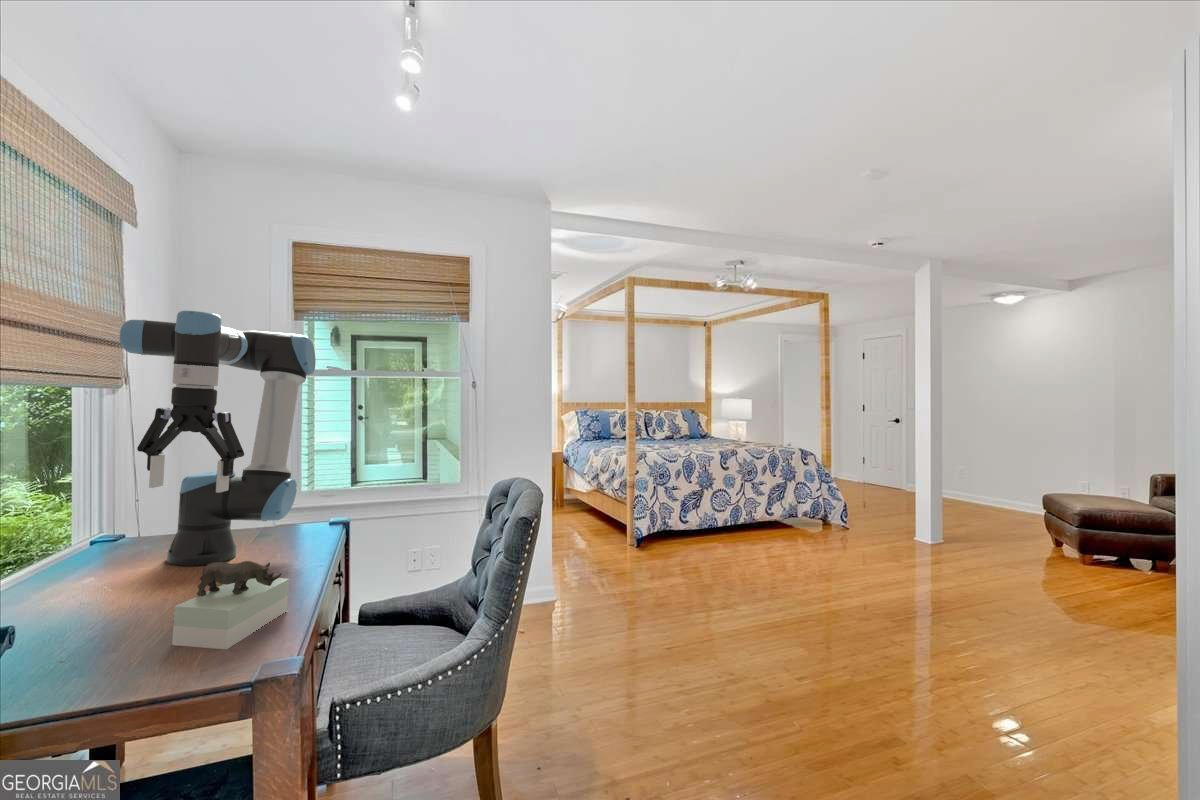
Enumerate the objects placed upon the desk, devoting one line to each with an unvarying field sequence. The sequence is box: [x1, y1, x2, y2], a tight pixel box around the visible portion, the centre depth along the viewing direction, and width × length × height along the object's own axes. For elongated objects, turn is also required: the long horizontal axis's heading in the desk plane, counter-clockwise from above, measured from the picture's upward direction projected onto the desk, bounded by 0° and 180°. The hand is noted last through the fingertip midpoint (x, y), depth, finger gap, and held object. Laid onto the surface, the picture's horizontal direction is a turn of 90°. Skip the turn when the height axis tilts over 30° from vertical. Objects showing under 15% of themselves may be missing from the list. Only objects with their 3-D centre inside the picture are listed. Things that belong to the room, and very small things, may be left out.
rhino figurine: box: [196, 560, 282, 596], centre depth 106 cm, size 4×14×6 cm, turn 111°
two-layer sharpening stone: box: [171, 577, 290, 650], centre depth 106 cm, size 18×10×7 cm, turn 178°
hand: (189, 489), depth 112 cm, fingers open, 13 cm apart
